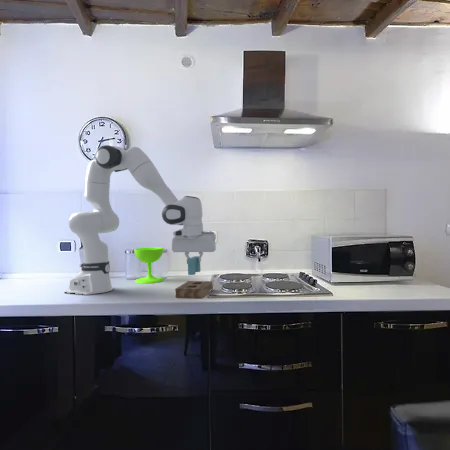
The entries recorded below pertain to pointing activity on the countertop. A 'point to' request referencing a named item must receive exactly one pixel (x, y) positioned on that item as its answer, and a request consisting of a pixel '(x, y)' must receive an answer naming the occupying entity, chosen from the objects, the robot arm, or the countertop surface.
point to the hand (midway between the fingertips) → (194, 261)
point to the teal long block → (193, 265)
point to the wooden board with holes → (193, 289)
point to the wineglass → (149, 262)
